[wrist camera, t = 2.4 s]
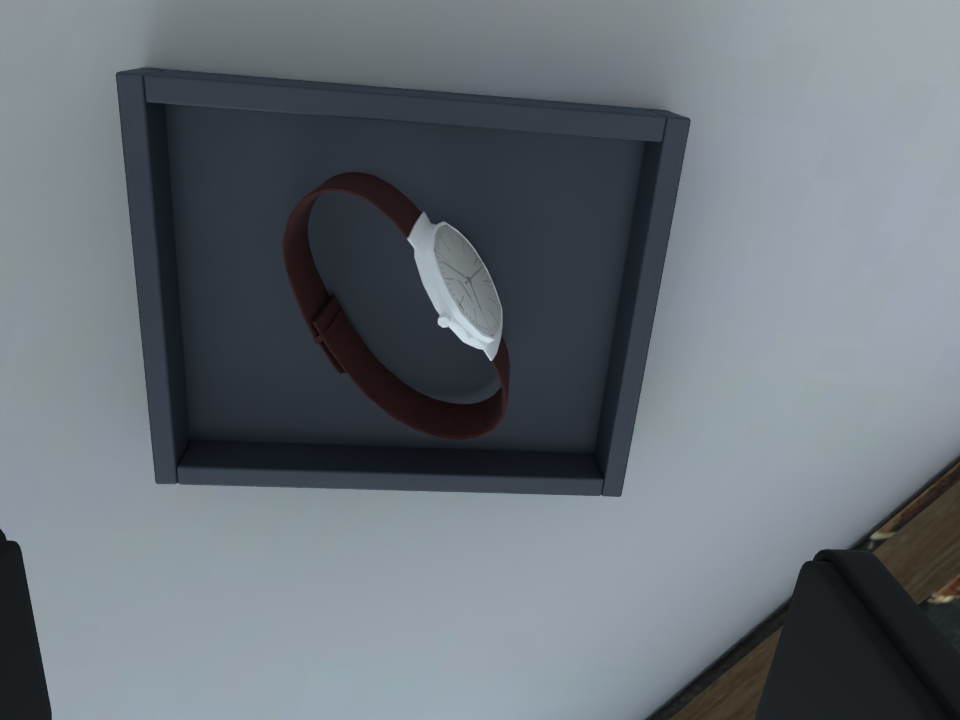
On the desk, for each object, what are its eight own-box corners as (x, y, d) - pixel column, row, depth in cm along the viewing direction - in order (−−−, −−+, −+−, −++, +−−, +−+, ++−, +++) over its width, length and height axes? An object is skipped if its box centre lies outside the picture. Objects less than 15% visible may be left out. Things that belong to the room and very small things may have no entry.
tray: (174, 449, 23) (155, 484, 21) (142, 67, 19) (114, 71, 17) (606, 463, 24) (621, 497, 23) (668, 110, 20) (691, 118, 18)
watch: (547, 358, 22) (571, 417, 19) (412, 439, 23) (412, 510, 20) (395, 125, 19) (391, 146, 16) (245, 226, 20) (212, 267, 17)
